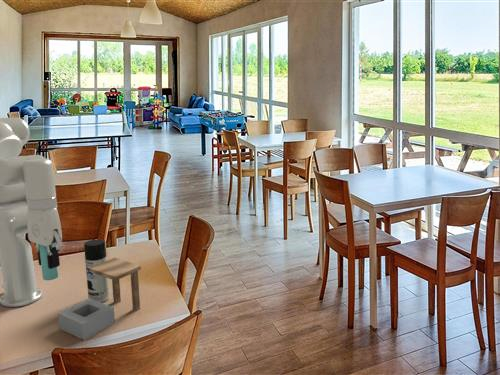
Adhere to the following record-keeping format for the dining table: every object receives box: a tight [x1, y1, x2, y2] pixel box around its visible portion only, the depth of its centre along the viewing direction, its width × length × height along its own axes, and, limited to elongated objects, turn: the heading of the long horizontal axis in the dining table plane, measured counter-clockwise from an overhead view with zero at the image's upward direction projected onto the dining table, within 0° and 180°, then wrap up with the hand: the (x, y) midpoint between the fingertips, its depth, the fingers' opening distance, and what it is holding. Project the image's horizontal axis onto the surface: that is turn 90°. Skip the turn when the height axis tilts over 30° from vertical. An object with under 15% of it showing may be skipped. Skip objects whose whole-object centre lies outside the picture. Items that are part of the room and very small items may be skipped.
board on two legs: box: [89, 257, 142, 311], centre depth 141 cm, size 12×10×15 cm
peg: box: [39, 241, 59, 281], centre depth 128 cm, size 4×4×12 cm
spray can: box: [83, 238, 110, 304], centre depth 148 cm, size 7×7×20 cm
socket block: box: [57, 298, 116, 341], centre depth 133 cm, size 11×11×5 cm
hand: (49, 264), depth 128 cm, fingers closed on peg, 4 cm apart
